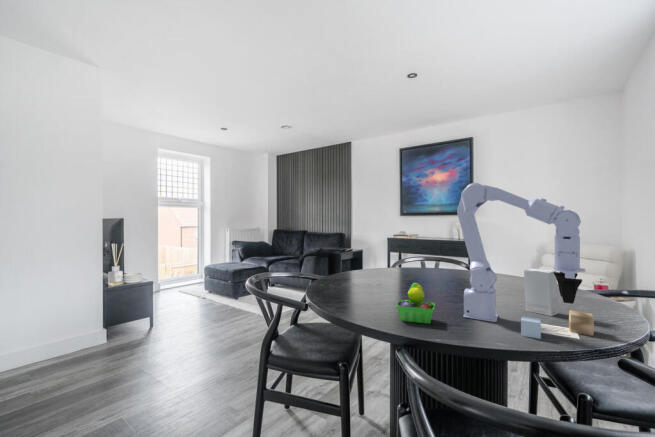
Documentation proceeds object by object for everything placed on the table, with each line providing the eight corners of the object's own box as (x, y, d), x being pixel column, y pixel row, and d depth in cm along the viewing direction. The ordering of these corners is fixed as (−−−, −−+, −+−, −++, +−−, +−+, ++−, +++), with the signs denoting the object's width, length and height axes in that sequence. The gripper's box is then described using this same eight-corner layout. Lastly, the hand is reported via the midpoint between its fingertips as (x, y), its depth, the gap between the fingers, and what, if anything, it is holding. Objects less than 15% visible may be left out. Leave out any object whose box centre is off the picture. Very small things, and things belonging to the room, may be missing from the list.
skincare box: (559, 314, 104) (558, 270, 104) (551, 317, 101) (551, 272, 101) (531, 308, 111) (531, 267, 111) (523, 310, 108) (523, 268, 108)
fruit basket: (396, 321, 97) (395, 285, 97) (400, 313, 105) (400, 280, 105) (434, 326, 93) (433, 288, 93) (435, 317, 101) (435, 283, 101)
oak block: (570, 331, 87) (571, 314, 87) (568, 326, 91) (569, 310, 91) (593, 336, 84) (594, 318, 84) (590, 330, 89) (591, 313, 88)
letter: (526, 330, 89) (526, 330, 89) (526, 321, 96) (526, 321, 96) (580, 339, 82) (580, 338, 82) (575, 329, 90) (575, 328, 90)
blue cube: (521, 336, 85) (521, 320, 85) (521, 331, 88) (521, 315, 88) (540, 339, 82) (540, 323, 82) (540, 334, 86) (540, 318, 86)
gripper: (589, 255, 79) (589, 308, 79) (581, 250, 91) (580, 296, 91) (555, 254, 83) (555, 304, 83) (551, 249, 95) (551, 293, 95)
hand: (566, 299), depth 87 cm, fingers open, 7 cm apart
